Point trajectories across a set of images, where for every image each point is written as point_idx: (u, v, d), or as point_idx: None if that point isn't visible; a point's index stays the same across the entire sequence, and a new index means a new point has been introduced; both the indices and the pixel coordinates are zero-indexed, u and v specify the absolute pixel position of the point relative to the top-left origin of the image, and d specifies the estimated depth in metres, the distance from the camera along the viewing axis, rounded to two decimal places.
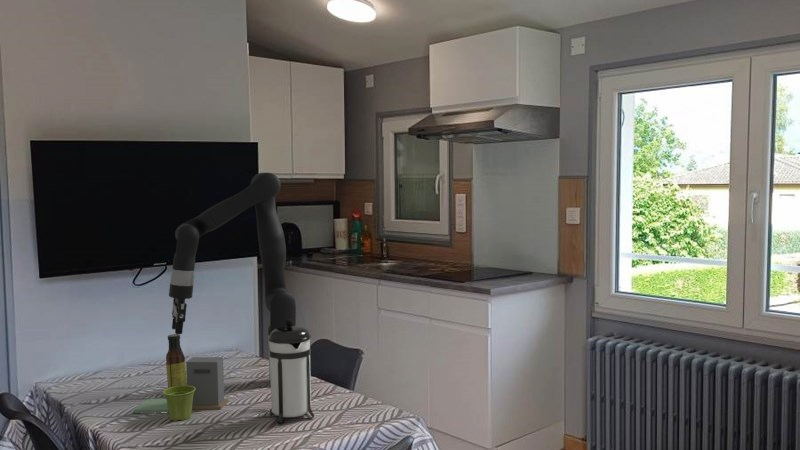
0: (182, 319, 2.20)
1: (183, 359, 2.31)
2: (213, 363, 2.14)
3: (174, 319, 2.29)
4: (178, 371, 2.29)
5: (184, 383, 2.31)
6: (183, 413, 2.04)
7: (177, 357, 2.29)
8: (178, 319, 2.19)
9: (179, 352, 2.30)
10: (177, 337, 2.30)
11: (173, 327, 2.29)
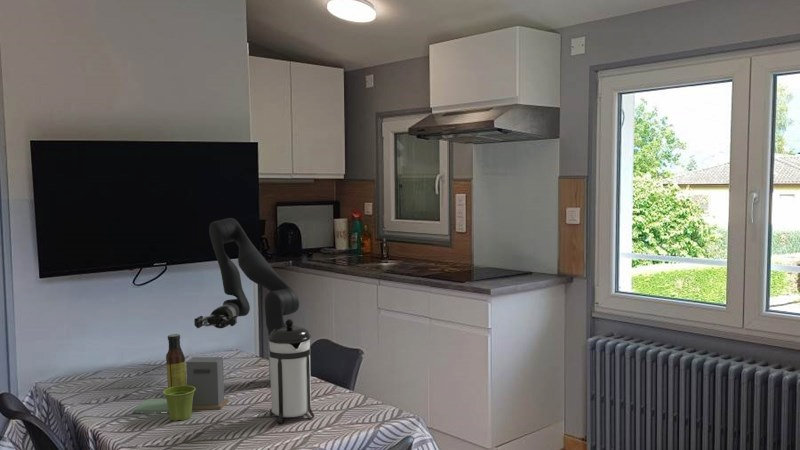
0: None
1: (183, 359, 2.31)
2: (213, 363, 2.14)
3: None
4: (178, 371, 2.29)
5: (184, 383, 2.31)
6: (183, 413, 2.04)
7: (177, 357, 2.29)
8: None
9: (179, 352, 2.30)
10: (177, 337, 2.30)
11: None
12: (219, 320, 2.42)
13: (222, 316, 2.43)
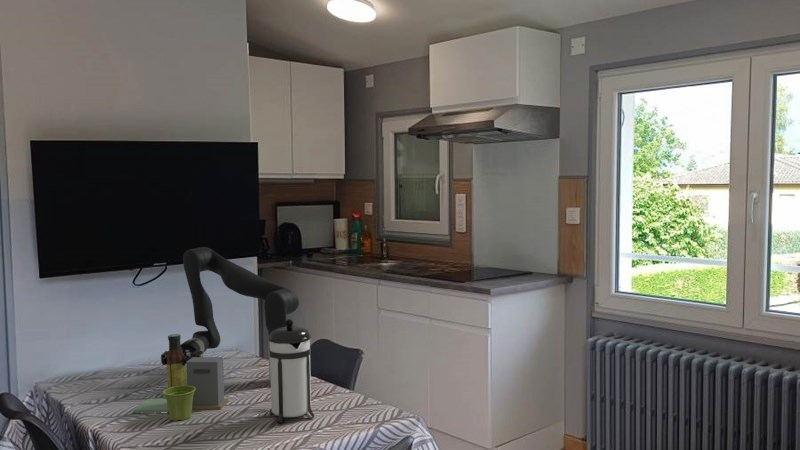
0: None
1: None
2: (213, 363, 2.14)
3: None
4: (178, 371, 2.29)
5: (184, 383, 2.31)
6: (183, 413, 2.04)
7: (177, 357, 2.29)
8: None
9: (179, 352, 2.30)
10: (177, 337, 2.30)
11: None
12: None
13: (187, 351, 2.36)
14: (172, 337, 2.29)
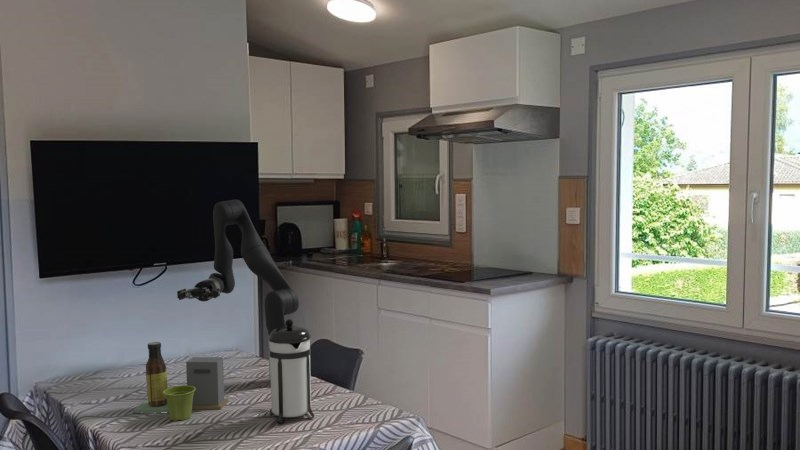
0: None
1: (165, 369, 2.16)
2: (213, 363, 2.14)
3: None
4: (159, 382, 2.13)
5: None
6: (183, 413, 2.04)
7: (157, 366, 2.13)
8: None
9: (160, 361, 2.14)
10: (158, 345, 2.14)
11: None
12: (202, 292, 2.42)
13: (205, 288, 2.43)
14: (152, 345, 2.13)
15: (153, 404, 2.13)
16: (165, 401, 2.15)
